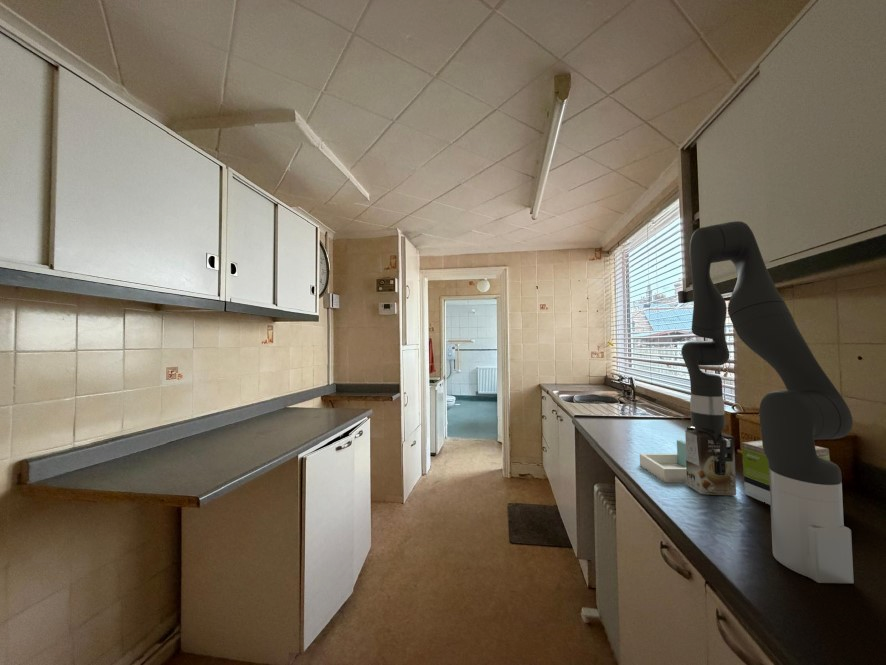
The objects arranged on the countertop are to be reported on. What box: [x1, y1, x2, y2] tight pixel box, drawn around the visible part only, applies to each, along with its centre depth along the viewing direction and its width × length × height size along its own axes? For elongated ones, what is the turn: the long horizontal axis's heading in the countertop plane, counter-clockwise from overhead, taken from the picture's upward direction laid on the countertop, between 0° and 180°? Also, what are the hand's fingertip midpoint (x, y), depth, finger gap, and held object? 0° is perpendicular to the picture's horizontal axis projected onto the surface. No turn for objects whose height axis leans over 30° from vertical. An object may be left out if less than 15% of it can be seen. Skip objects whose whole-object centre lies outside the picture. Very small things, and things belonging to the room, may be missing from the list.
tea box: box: [741, 439, 831, 506], centre depth 85 cm, size 15×10×15 cm
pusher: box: [676, 439, 686, 467], centre depth 102 cm, size 10×2×8 cm, turn 177°
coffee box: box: [684, 429, 737, 496], centre depth 90 cm, size 9×6×16 cm
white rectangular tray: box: [639, 453, 687, 483], centre depth 102 cm, size 13×18×4 cm
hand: (709, 469), depth 90 cm, fingers closed on coffee box, 6 cm apart
